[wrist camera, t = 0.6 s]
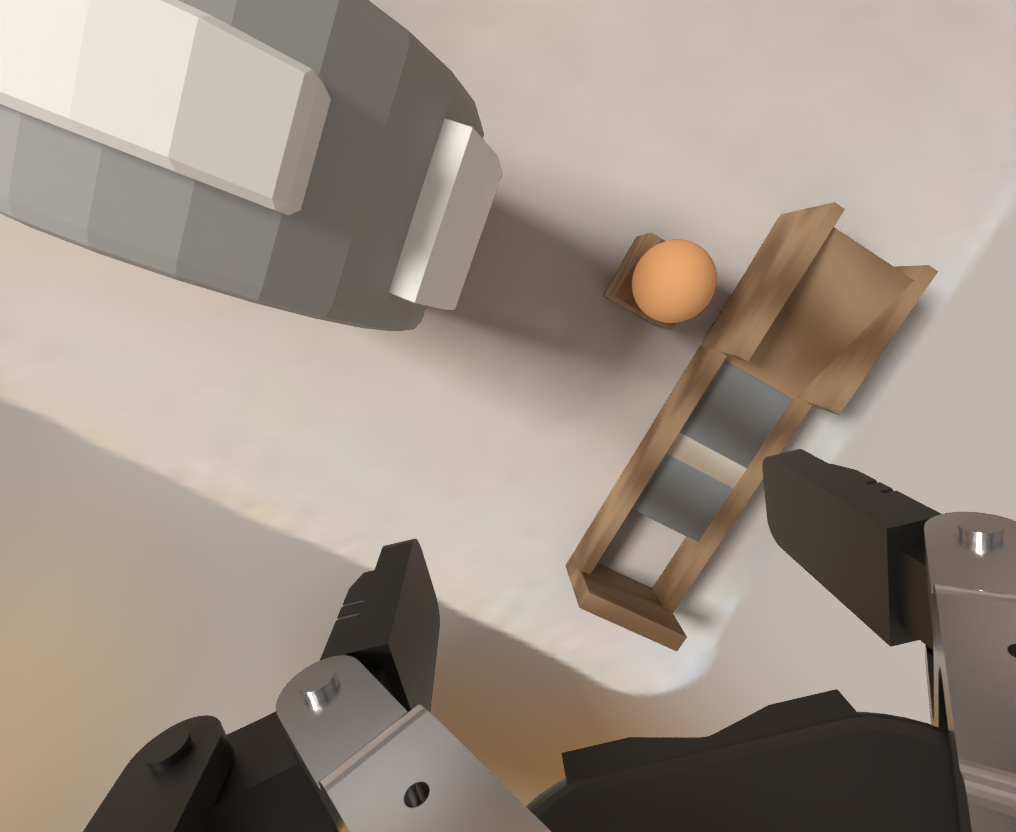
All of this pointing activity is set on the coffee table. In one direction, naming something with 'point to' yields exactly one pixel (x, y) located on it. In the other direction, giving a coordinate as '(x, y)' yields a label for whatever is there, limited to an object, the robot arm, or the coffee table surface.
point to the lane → (746, 404)
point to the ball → (674, 281)
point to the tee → (622, 280)
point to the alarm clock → (248, 149)
